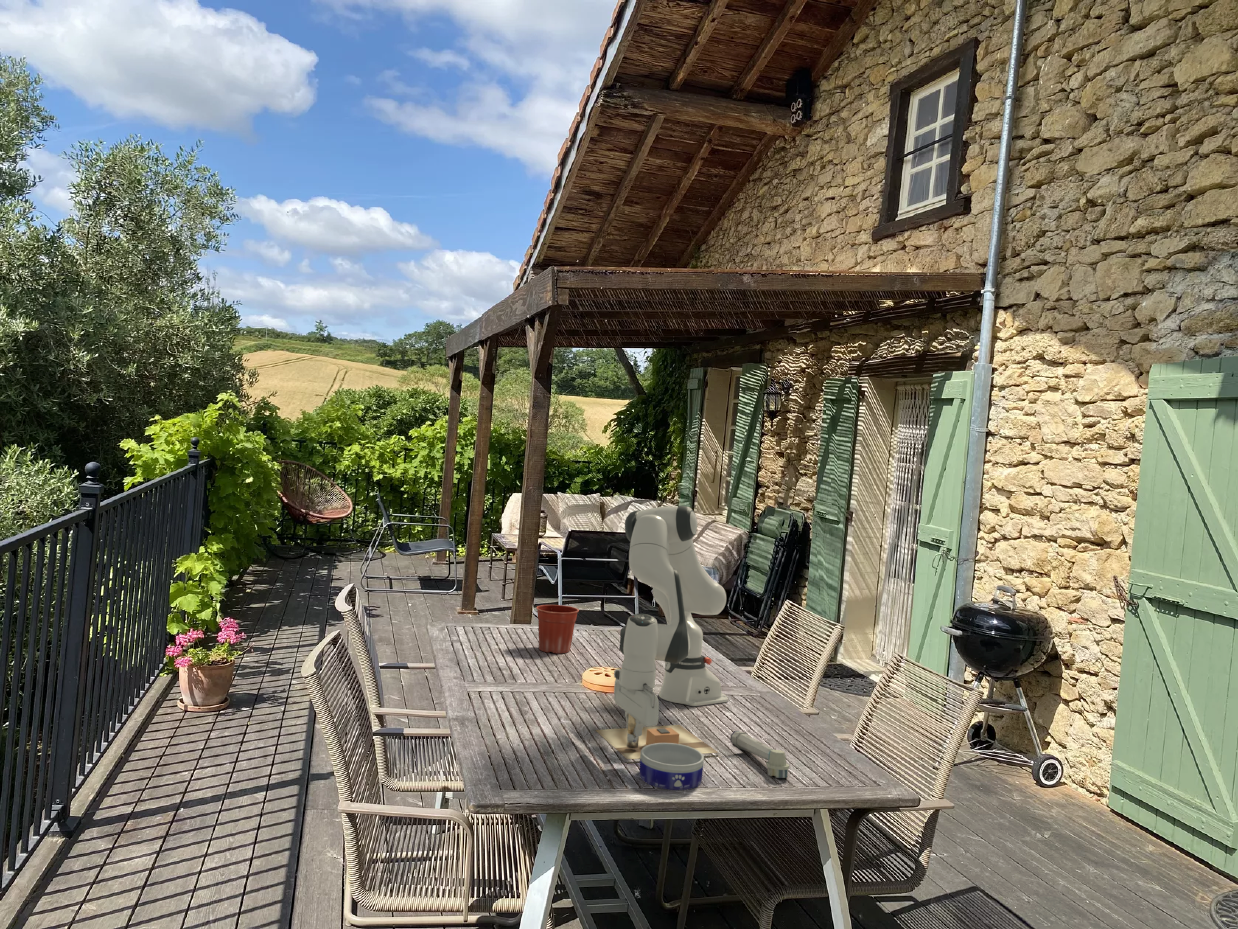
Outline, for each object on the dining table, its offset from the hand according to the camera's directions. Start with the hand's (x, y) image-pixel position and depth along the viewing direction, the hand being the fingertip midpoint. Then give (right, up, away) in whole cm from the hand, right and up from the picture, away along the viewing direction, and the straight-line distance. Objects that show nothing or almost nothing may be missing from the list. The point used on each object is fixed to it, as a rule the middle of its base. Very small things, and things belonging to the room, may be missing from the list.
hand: (633, 732), depth 215 cm
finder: (+7, -5, +4) cm, 10 cm away
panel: (+6, -6, +8) cm, 12 cm away
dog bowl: (+9, -7, -14) cm, 17 cm away
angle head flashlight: (+32, -9, +3) cm, 34 cm away
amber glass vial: (0, -4, 0) cm, 4 cm away
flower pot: (-29, -3, +106) cm, 110 cm away
